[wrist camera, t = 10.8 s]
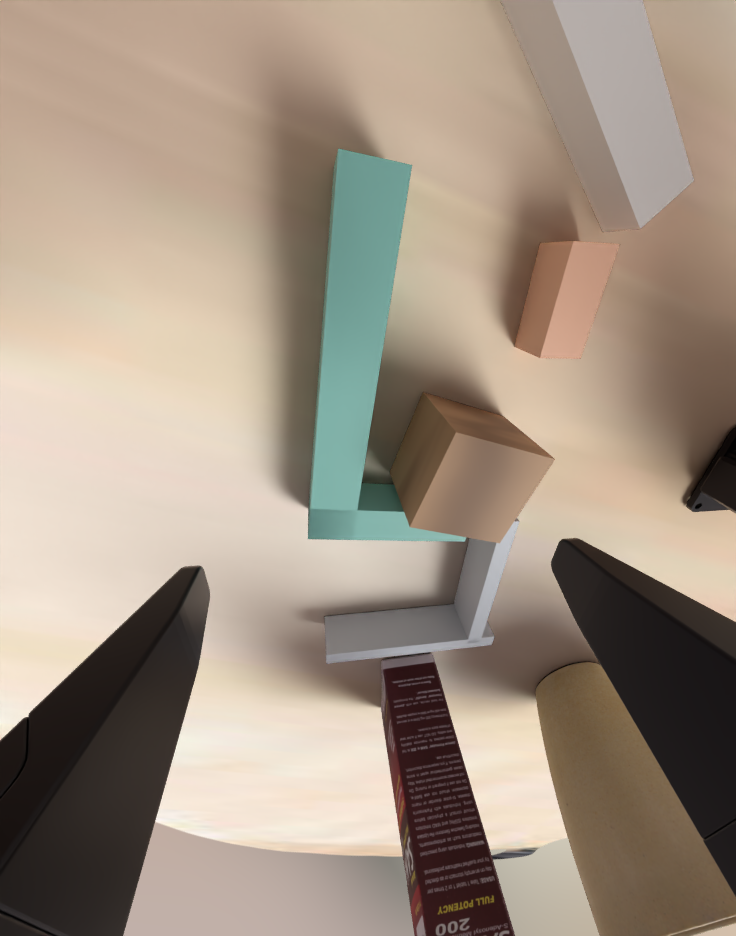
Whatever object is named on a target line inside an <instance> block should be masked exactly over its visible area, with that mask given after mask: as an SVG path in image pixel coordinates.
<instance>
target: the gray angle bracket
mask: <svg viewBox="0 0 736 936" xmlns="http://www.w3.org/2000/svg"><path fill="white" fill-rule="evenodd" d="M518 524H519V520H518V519H517V518H516V519H515V521H514V523H513V524H512V526H511V527H510V529H509V530H508V532H507V533H506V535H505V536H504V538H503V539H502V541H501V542H500V543H495V542H489V541H484V540H478V539H472V538H469V542H468V546H467V551H466V555H465V559H464V563H463V567H462V571H461V576H460V580H459V584H458V588H457V592H456V596H455V601H454V604H449V605H439V606H428V607H418V608H407V609H397V610H386V611H376V612H365V613H355V614H344V615H334V616H325V641H326V664H329V663H338V662H347V661H355V660H364V659H373V658H382V657H391V656H399V655H408V654H417V653H426V652H435V651H443V650H452V649H461V648H470V647H479V646H487V645H492V643H493V640H494V637H495V636H494V634H493V632H492V630H491V628H490V626H489V624H488V622H487V620H488V616H489V613H490V610H491V607H492V604H493V601H494V598H495V595H496V592H497V589H498V586H499V583H500V579H501V576H502V573H503V570H504V567H505V564H506V561H507V558H508V555H509V552H510V549H511V546H512V542H513V539H514V536H515V533H516V530H517V527H518Z"/></svg>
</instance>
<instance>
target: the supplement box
mask: <svg viewBox="0 0 736 936" xmlns="http://www.w3.org/2000/svg"><path fill="white" fill-rule="evenodd" d="M381 668H382V701H381V712H382V719H383V726H384V733H385V739H386V746H387V753H388V759H389V766H390V773H391V779H392V786H393V793H394V799H395V806H396V813H397V819H398V826H399V833H400V840H401V846H402V854H403V860H404V865H405V873H406V879H407V887H408V893H409V900H410V906H411V914H412V921H413V928H414V934H415V936H515V935H514V931H513V927H512V924H511V921H510V917H509V914H508V911H507V907H506V904H505V900H504V897H503V893H502V890H501V886H500V883H499V879H498V877H497V873H496V869H495V866H494V862H493V859H492V856H491V852H490V849H489V845H488V842H487V839H486V835H485V832H484V829H483V825H482V822H481V819H480V815H479V812H478V809H477V805H476V802H475V799H474V795H473V792H472V788H471V785H470V781H469V778H468V775H467V771H466V768H465V764H464V761H463V758H462V754H461V751H460V747H459V744H458V740H457V737H456V734H455V730H454V727H453V723H452V720H451V716H450V713H449V709H448V706H447V702H446V699H445V695H444V692H443V688H442V685H441V681H440V678H439V674H438V671H437V667H436V664H435V660H434V656H433V654H422V655H413V656H406V657H399V658H392V659H386V660H382V662H381Z"/></svg>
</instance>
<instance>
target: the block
mask: <svg viewBox="0 0 736 936" xmlns="http://www.w3.org/2000/svg"><path fill="white" fill-rule="evenodd" d="M554 460H555V459H554V458H553V457H552V456H551V455H549V454H548V453H547V452H546V451H545V450H543V449H542V448H541V447H540V446H539V445H537V444H536V443H535V442H534V441H532V440H531V439H530V438H529V437H528V436H526V435H525V434H524V433H523V432H522V431H520V430H519V429H518V428H517V427H516V426H514V425H513V424H512V423H511V422H510V421H508V420H507V419H506V418H505V417H504V416H501V415H498V414H494V413H491V412H488V411H484V410H481V409H478V408H474V407H471V406H468V405H464V404H461V403H458V402H454V401H451V400H448V399H444V398H441V397H438V396H434V395H431V394H428V393H425V392H423V393H422V396H421V398H420V400H419V403H418V405H417V408H416V410H415V412H414V415H413V417H412V420H411V422H410V424H409V427H408V429H407V432H406V434H405V436H404V439H403V441H402V444H401V446H400V448H399V451H398V453H397V456H396V458H395V460H394V463H393V465H392V468H391V470H390V475H391V477H392V480H393V483H394V486H395V488H396V491H397V494H398V496H399V499H400V502H401V505H402V507H403V510H404V513H405V516H406V518H407V521H408V524H409V527H411V528H417V529H422V530H428V531H434V532H439V533H445V534H450V535H456V536H461V537H467V538H472V539H478V540H484V541H489V542H495V543H500V542H501V541H502V539H503V538H504V536H505V535H506V533H507V532H508V530H509V529H510V527H511V526H512V524H513V523H514V521H515V519H516V518H517V516H518V515H519V513H520V512H521V510H522V509H523V507H524V506H525V504H526V503H527V501H528V500H529V498H530V497H531V495H532V494H533V492H534V491H535V489H536V487H537V486H538V484H539V483H540V481H541V480H542V478H543V477H544V475H545V474H546V472H547V471H548V469H549V468H550V466H551V465H552V463H553V462H554Z"/></svg>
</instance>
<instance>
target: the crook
mask: <svg viewBox="0 0 736 936" xmlns="http://www.w3.org/2000/svg"><path fill="white" fill-rule="evenodd" d="M411 169H412V165H409V164H405V163H401V162H396V161H392V160H387V159H383V158H378V157H374V156H369V155H365V154H361V153H356V152H352V151H347V150H343V149H338V152H337V156H336V160H335V164H334V172H333V185H332V199H331V212H330V226H329V239H328V253H327V266H326V279H325V293H324V306H323V320H322V333H321V347H320V360H319V373H318V387H317V400H316V414H315V427H314V441H313V454H312V468H311V481H310V494H309V508H308V539H336V540H398V541H459V542H465V540H466V537H461V536H456V535H450V534H445V533H439V532H434V531H428V530H422V529H417V528H411V527H409V524H408V521H407V518H406V516H405V513H404V510H403V507H402V505H401V502H400V499H399V496H398V494H397V491H396V488H395V486H394V485H393V484H371V483H362V477H363V471H364V465H365V458H366V452H367V446H368V439H369V433H370V427H371V421H372V414H373V408H374V402H375V395H376V389H377V383H378V376H379V370H380V364H381V358H382V351H383V345H384V339H385V332H386V326H387V320H388V313H389V307H390V301H391V295H392V288H393V282H394V276H395V269H396V263H397V257H398V250H399V244H400V238H401V232H402V225H403V219H404V213H405V206H406V200H407V194H408V187H409V181H410V175H411Z"/></svg>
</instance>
